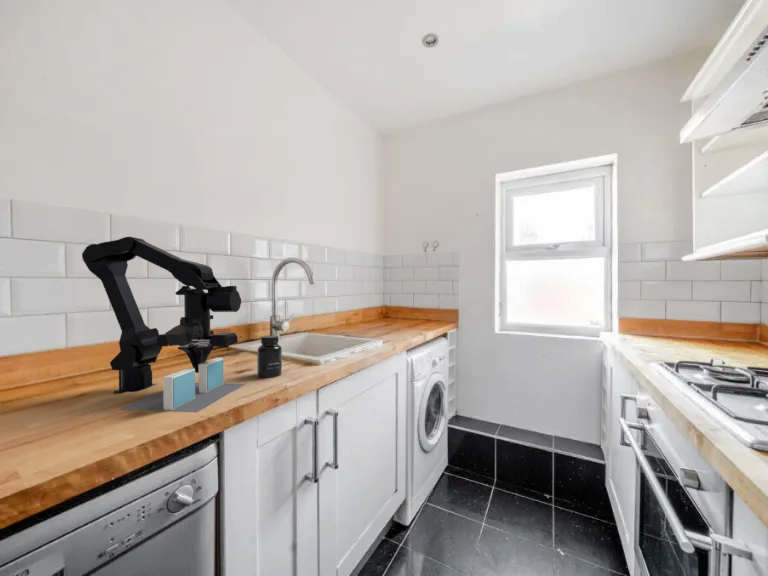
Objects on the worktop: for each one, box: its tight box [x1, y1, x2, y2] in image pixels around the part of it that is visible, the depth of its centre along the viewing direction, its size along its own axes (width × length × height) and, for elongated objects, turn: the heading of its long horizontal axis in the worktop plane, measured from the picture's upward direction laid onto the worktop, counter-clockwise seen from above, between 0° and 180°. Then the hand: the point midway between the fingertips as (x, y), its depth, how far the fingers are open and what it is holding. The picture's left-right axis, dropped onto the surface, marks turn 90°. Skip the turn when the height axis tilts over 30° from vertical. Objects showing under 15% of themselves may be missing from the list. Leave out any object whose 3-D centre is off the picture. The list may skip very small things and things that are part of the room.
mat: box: [118, 382, 246, 413], centre depth 76 cm, size 18×19×1 cm
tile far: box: [198, 357, 224, 393], centre depth 81 cm, size 2×7×7 cm, turn 175°
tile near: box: [162, 368, 196, 410], centre depth 70 cm, size 2×7×7 cm, turn 175°
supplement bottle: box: [256, 335, 283, 379], centre depth 93 cm, size 7×7×12 cm
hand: (198, 372), depth 82 cm, fingers closed
